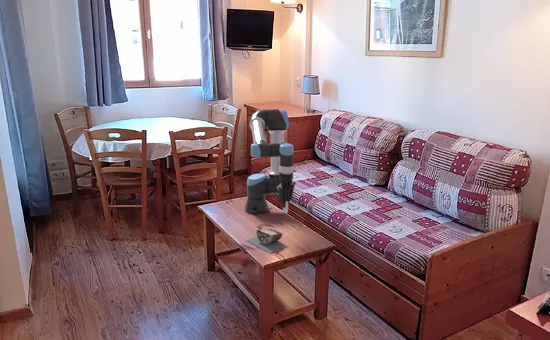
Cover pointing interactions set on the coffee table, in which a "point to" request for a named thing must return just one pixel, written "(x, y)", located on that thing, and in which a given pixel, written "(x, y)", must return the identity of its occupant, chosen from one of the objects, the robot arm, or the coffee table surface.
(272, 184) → the robot arm
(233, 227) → the coffee table surface
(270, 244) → the mat
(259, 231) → the food container
